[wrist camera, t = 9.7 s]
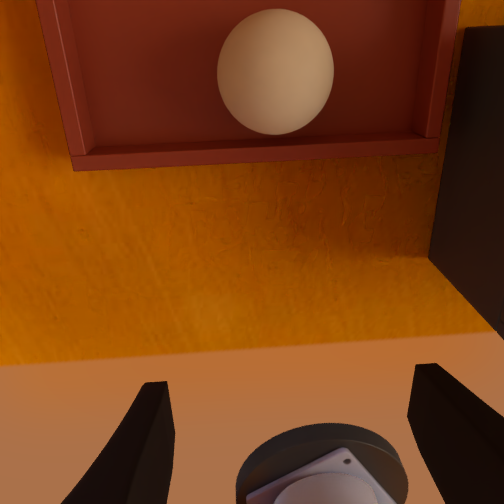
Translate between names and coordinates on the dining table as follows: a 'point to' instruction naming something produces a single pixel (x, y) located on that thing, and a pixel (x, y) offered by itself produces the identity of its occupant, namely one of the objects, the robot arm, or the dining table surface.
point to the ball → (275, 71)
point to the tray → (207, 91)
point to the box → (475, 179)
